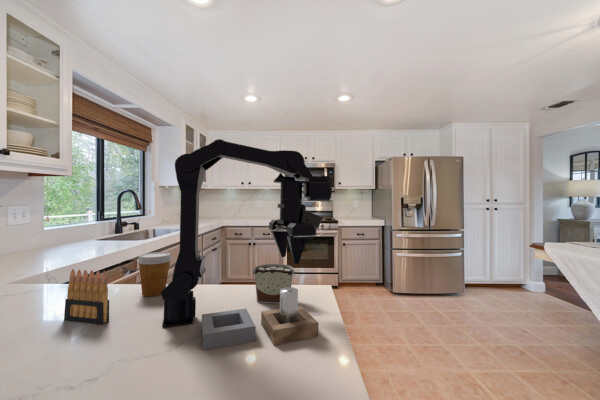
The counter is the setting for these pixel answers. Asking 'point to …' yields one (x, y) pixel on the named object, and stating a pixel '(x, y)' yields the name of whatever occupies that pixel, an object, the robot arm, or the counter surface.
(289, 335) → the block
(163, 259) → the disposable coffee cup
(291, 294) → the pin
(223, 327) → the socket block
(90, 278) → the ammunition clip
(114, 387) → the counter surface
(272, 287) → the food container
